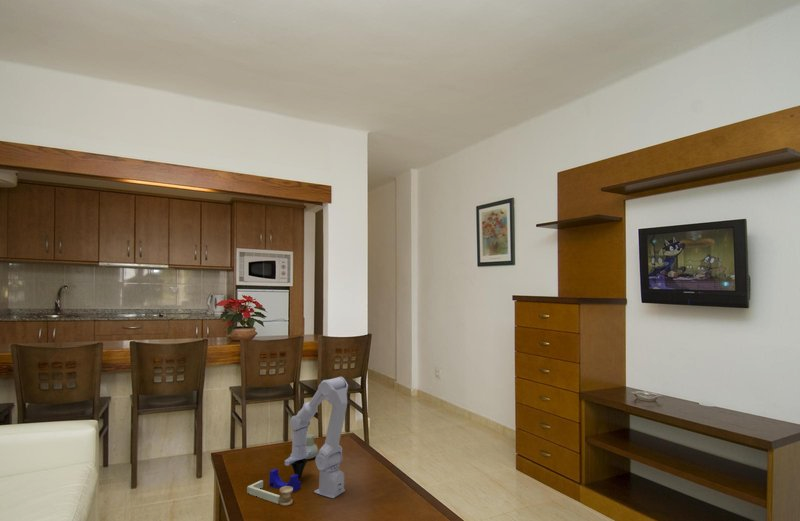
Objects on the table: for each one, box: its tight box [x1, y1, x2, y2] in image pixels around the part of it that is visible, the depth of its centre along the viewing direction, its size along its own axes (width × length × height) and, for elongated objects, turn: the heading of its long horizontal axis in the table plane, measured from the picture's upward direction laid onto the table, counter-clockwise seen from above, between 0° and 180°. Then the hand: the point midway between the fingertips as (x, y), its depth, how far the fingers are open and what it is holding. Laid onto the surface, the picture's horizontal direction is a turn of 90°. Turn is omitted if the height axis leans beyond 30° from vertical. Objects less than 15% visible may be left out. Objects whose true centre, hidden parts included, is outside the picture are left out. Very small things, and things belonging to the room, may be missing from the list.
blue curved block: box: [268, 468, 301, 493], centre depth 183 cm, size 12×4×6 cm, turn 63°
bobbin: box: [278, 486, 293, 507], centre depth 171 cm, size 5×5×5 cm
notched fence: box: [246, 479, 282, 505], centre depth 176 cm, size 16×7×2 cm, turn 60°
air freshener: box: [305, 433, 319, 460], centre depth 216 cm, size 11×8×10 cm
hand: (298, 477), depth 190 cm, fingers closed
